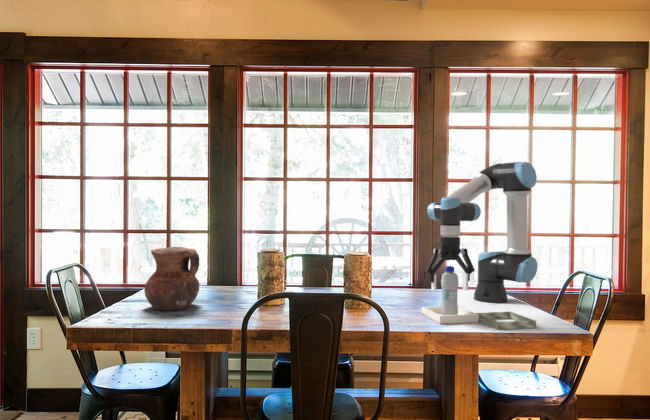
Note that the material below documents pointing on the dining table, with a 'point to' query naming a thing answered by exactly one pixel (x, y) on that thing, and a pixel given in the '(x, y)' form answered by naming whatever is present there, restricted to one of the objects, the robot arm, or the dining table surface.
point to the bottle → (449, 292)
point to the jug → (173, 278)
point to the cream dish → (461, 317)
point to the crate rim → (517, 324)
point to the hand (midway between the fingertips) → (449, 290)
